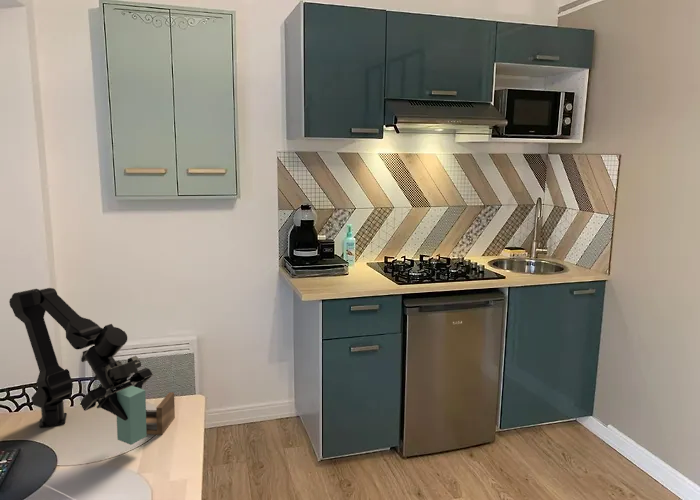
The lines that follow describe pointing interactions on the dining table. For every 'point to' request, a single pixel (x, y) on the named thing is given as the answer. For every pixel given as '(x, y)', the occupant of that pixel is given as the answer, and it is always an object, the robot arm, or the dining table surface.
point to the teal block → (132, 415)
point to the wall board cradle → (161, 416)
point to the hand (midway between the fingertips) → (135, 415)
